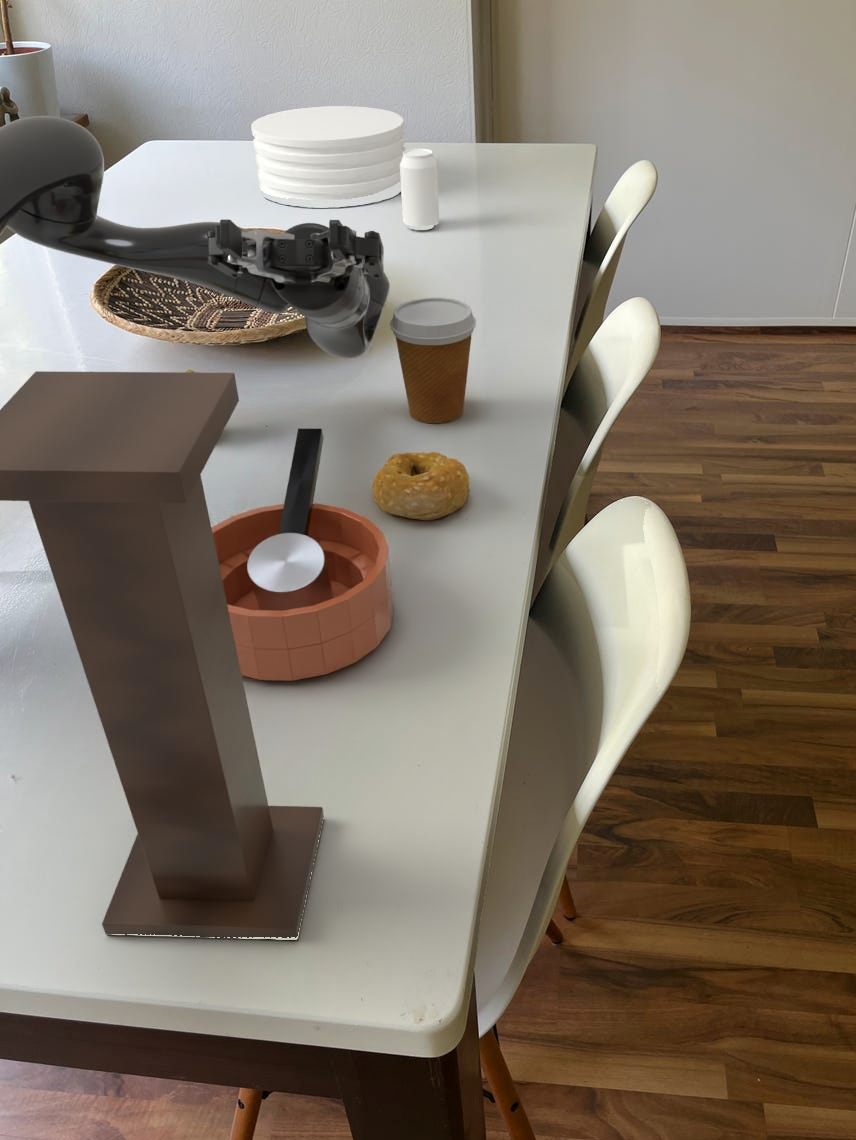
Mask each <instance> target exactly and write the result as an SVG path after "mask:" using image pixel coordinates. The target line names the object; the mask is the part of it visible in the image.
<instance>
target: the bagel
mask: <svg viewBox="0 0 856 1140" xmlns="http://www.w3.org/2000/svg"><path fill="white" fill-rule="evenodd" d="M470 484H471V481H470V477H469V473H468V471H467V469H466V467H465V465H464V464H463V463H461V461H459V460H458V459H457V458H452V457H448V456H447V455H445V454H441V453H440V452H436V451H432V452H431V451H430V452H405V453H401V452H400V453H396V454H392V455H391V456H390V457H389V458H388V460H386V463H385V464H384V466H383V467H382V468H379V470H378V471H377V473H376V474H375V476H374V479H373V483H372V487H371V488H372V489H371V491H372V495H373V499H374V501H375V503H376V504H377V506H378V507H379V508H381V510H382V511H383V512H384V513H388V514H391V515H394V516H399V517H404V518H407V519H412V520H413V519H414V520H421V521H433V520H437V519H440V518H443V517H446V516H449V515H451V514H453V513H455V511H457V510H459V509H460V508H462V507H463V506H464V504H465V502H466V501H467V497H468V495H469V494H470V492H471V488H470Z"/></svg>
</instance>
